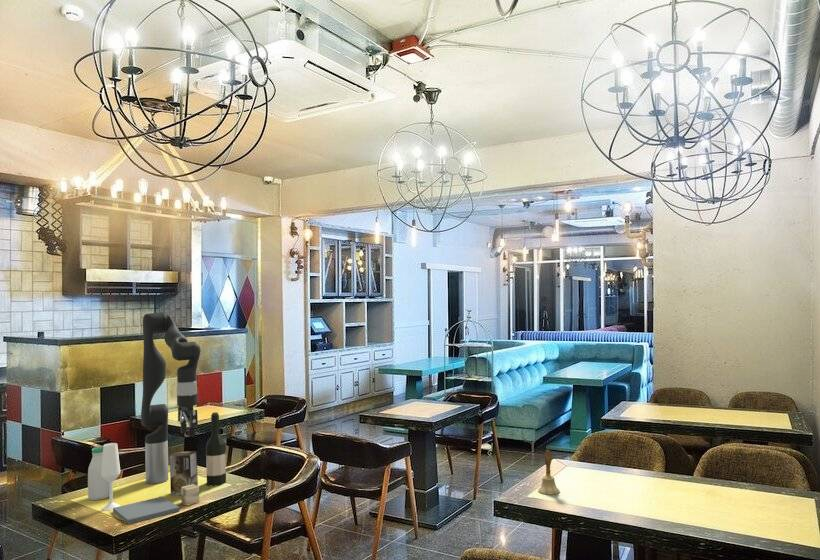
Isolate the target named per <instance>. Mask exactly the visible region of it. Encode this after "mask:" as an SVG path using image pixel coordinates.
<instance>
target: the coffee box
mask: <svg viewBox="0 0 820 560" xmlns="http://www.w3.org/2000/svg"><path fill="white" fill-rule="evenodd" d="M169 473H170V474H169V475H170V477H169V478H170V496H181V487H184V486H188V485H193V484H194V485H196V486H198V487H199V482H198V481H199V480H198V452H197V451H193V450H191V451H175V452H173V453H172V454H170V455H169Z"/></svg>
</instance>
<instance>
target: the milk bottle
mask: <svg viewBox="0 0 820 560" xmlns="http://www.w3.org/2000/svg"><path fill="white" fill-rule="evenodd" d="M91 454H92V458H91V459H90V460H91V461H90V463H89V466H88V468H87V469H88V470H87V493H88V494H87V496H88V500H90V501H100V500H103V499H107V498H109V482H107V481H106V480H105V479H103V478H102V476H101V469H102V458H103V446H97V447H93V448H92V449H91Z"/></svg>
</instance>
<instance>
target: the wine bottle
mask: <svg viewBox="0 0 820 560" xmlns="http://www.w3.org/2000/svg"><path fill="white" fill-rule="evenodd" d="M218 412H219V411H217V412H215V411H214V412H212V413H211V414H210V420H211V422H210V423H211V424H210V427H211V428H210V429H211V431H210V432H211V434H210V436H209V438H208V439H207V442H206V443H205V456H206V457H205V458H206V460H205V461H206V464H205V465H206V468H205V469H206V485H207V486H209V485H212V486H211V487H214V486H215V485H217V486H222V485H224V484H226V483H227V474H226V473H227V468H226V466H227V465H226V464H227V463H226V461H227V459H226V442H225V440H224V439H223V437H222V436H221V433H220V414H219V413H218ZM221 484H222V485H221ZM215 487H216V486H215Z"/></svg>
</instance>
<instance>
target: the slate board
mask: <svg viewBox="0 0 820 560" xmlns="http://www.w3.org/2000/svg"><path fill="white" fill-rule="evenodd" d="M177 511H178V512H180V506H178V505H176V504H174V503H173V502H172V501H170V500H169V499H166V498H165V497H164V496H158V497H154V498H150V499H145V500H141V501H137V502H132V503H128V504H124V505H121V506H119V507H115V508H113V510H112V513H113V514H115V515H116V516H117V515H118V516H117V517H119V518H120V519H121V520H122V519H123V520H122V521H123V522H125V523H126V524H127V523H128V524H127V525H131V524H135V523H138V522H142V521H147V520H151V519H155V518H160V517H162V516H165V515H170V514H173V513H177Z"/></svg>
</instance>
